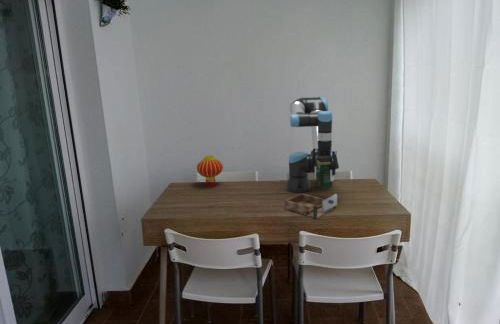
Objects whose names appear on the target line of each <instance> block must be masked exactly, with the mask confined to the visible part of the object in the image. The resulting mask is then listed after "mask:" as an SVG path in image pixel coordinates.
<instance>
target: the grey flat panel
mask: <svg viewBox="0 0 500 324" xmlns="http://www.w3.org/2000/svg"><path fill="white" fill-rule="evenodd" d="M323 199H324V200H322V212H324V211H326V210H328V209H330V208H334V207H335V206H338V194H337V193H335V194H333V195H330V196H329V197H327V198H323Z"/></svg>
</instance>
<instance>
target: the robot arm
mask: <svg viewBox="0 0 500 324" xmlns="http://www.w3.org/2000/svg"><path fill="white" fill-rule="evenodd" d="M289 112H290V115H289V124H290V127H291V128H305V127H310V128H311V140H312V150H311V151H310V153H308V151H296V152H292V153H290V154H289V157H288V179H287V182H286V186H285V187H286V190H287V191H288V192H291V193H299V194H301V193H307V192H309V191H311V188H312V187H311V183H310V179H309V177H308V176H309V175H308V174H314V178H315V179H317V155H318V156H320V155H326V156H331V157H332V162H331V164H330V166H331V170H330V181H332V182H334V181H335V175H336V170H337V169H339V168H340V166H339V162H338V157H337V153H338V150H332V145H333V141H332V139H333V138H332V137H333V112H332V111H329V105H328V100H327V98H326V97H324V96H322V97H321V96H317V97H300V98H297V99H295V100H294V101H292V103H291V104H290V106H289Z"/></svg>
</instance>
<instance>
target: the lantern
mask: <svg viewBox="0 0 500 324" xmlns="http://www.w3.org/2000/svg"><path fill="white" fill-rule="evenodd" d="M207 148H208V151H210V150H209V146H207ZM223 169H224V167H223V164H222V162H221V161H220V160H219V159H218V158H215V155H213V154H211V155H210V154H208V155H204V156H203V159H201V160H200V161H199V162H198V163H197V165H196V170H197V173H198V174H199V175H200V176H201V177H204V178H205V185H206V187H208V186H209V187H215V186H216V185H217V184H216V177H217V176H218V175H220V174H221V173H222V171H223Z"/></svg>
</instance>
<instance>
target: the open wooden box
mask: <svg viewBox="0 0 500 324" xmlns="http://www.w3.org/2000/svg"><path fill="white" fill-rule="evenodd" d="M324 199H325V198H322V197H319V196H318V197H317V196H315V195H310V194H306V193H303V192H300V193H299V194H297V195H294V196H292V197H289V198H287V199H285V200H284V210H285V209H286V211H289V210H290V211H289V212H292V211H293V213H296V212H297V213H296V214H299V213H301V214H300V215H303V214H306V215H310V216H312V217H311V218H313V219H316V220H317V219H319V218H321V217H322V216H321V215H323V214H324V215H326V214H328V213H330V212H332V211H334V207H332V208H330V209H328V210H326V211H324V212H322V200H324ZM331 210H332V211H331ZM329 211H330V212H329ZM327 212H328V213H327ZM325 213H326V214H325ZM306 215H305V216H306ZM324 215H323V216H324ZM320 216H321V217H320Z"/></svg>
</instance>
